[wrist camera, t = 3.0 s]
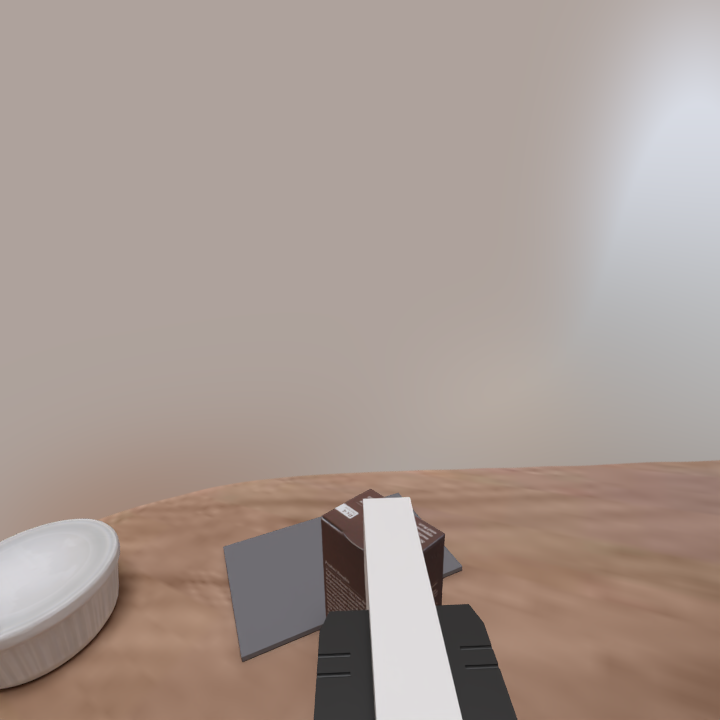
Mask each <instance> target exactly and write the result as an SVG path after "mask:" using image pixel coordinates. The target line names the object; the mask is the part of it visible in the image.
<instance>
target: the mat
mask: <svg viewBox="0 0 720 720" xmlns="http://www.w3.org/2000/svg"><path fill="white" fill-rule="evenodd" d="M385 498H401V495H400V494H399V493H396V494H393V495H390V496H387V497H385ZM413 513H414V515H415V516H416V517H418V518H420V517H419V516H418V515H417V514H416V513H415V512H414V510H413ZM420 519H421V518H420ZM223 548H224V554H225V560H226V566H227V572H228V578H229V584H230V590H231V597H232V603H233V609H234V615H235V621H236V627H237V633H238V639H239V645H240V652H241V658H242V662H243V661H246V660H248V659H250V658H253V657H255V656H257V655H260V654H262V653H265V652H267V651H269V650H272V649H274V648H277V647H279V646H281V645H284V644H286V643H289V642H291V641H293V640H296V639H298V638H301V637H303V636H305V635H308V634H310V633H313V632H315V631H317V630H320V629H321V627H322V625H323V623H324V621H325V619H326V610H325V591H324V569H323V551H322V529H321V517H318V518H315V519H312V520H309V521H306V522H302V523H299V524H296V525H293V526H289V527H286V528H283V529H280V530H276V531H273V532H270V533H267V534H263V535H260V536H257V537H254V538H250V539H247V540H244V541H241V542H237V543H234V544H231V545H228V546H225V547H223ZM461 570H462V565H461V564H460V563H459V562H458V561H457V560H456V559H455V557H454V556H453V555H452V554H451V553H450V552H449V551H448V549H447V548H446V547H445V546H444V562H443V578H444V577H447V576H449V575H451V574H454V573H456V572H458V571H461Z"/></svg>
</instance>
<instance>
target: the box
mask: <svg viewBox="0 0 720 720" xmlns="http://www.w3.org/2000/svg"><path fill="white" fill-rule="evenodd" d="M373 498H385V497H383V496H382V495H380V494H378V493H377V492H375V491H374V490H372V489H369V490H367V491H366V492H364V493H362V494H360V495H358V496H356V497H354V498H353V499H351V500H349V501H347V502H346V503H344V504H342V505H340V506H338V507H337V508H335V509H333V510H331V511H330V512H328V513H326V514H324V515H322V516H321V529H322V551H323V569H324V591H325V610H326V617H327V615H328V613H329V611H350V610H367V608H366V590H365V571H364V525H363V499H373ZM414 518H415V522H416V526H417V530H418V534H419V539H420V543H421V547H422V551H423V556H424V560H425V564H426V568H427V572H428V577H429V581H430V585H431V589H432V594H433V598H434V602H435V606H438V605H442V584H443V562H444V541H445V534H444V533H443V532H441V531H440V530H438V529H436V528H435V527H433V526H431V525H430V524H428V523H426V522H425V521H423V520H421V519H420V518H418V517H416V516H415V515H414Z"/></svg>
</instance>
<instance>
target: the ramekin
mask: <svg viewBox="0 0 720 720" xmlns="http://www.w3.org/2000/svg"><path fill="white" fill-rule="evenodd" d="M119 555H120V544H119V540H118V536H117V534H116V532H115V531H114V529H113V528H112V527H110V526H109V525H107V524H106V523H103V522H101V521H98V520H94V519H73V520H64V521H58V522H53V523H49V524H45V525H41V526H38V527H35V528H32V529H29V530H26V531H24V532H21V533H19V534H16V535H14V536H12V537H10V538H7V539H5V540H3V541H1V542H0V689H3V688H9V687H14V686H17V685H21V684H24V683H27V682H29V681H32V680H34V679H36V678H39V677H41V676H43V675H45V674H47V673H49V672H50V671H52V670H54V669H55V668H57V667H59V666H60V665H62V664H63V663H65V662H66V661H68V660H69V659H71V658H72V657H73V656H75V655H76V654H77V653H78V652H79V651H81V650H82V649H83V648H84V647H85V646H86V645H87V644H88V643H89V642H90V641H91V640H92V639H93V638H94V637H95V636H96V635H97V633H98V632H99V631H100V630H101V628H102V627H103V626H104V624H105V622H106V621H107V620H108V618H109V616H110V615H111V613H112V611H113V609H114V607H115V605H116V601H117V598H118V590H119V578H118V560H119Z"/></svg>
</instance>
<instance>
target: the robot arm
mask: <svg viewBox="0 0 720 720" xmlns="http://www.w3.org/2000/svg"><path fill="white" fill-rule="evenodd" d="M363 525H364V571H365V590H366V608H367V610H350V611H329V613H328V615H327V617H326V619H325V621H324V623H323V625H322V627H321V629H320V634H319V649H318V664H317V679H316V694H315V709H314V720H517V717H516V714H515V711H514V708H513V706H512V703H511V700H510V697H509V694H508V691H507V688H506V685H505V683H504V680H503V677H502V674H501V671H500V669H499V668H498V663H497V660H496V657H495V654H494V651H493V649H492V647H491V643H490V640H489V637H488V634H487V631H486V628H485V625H484V623H483V621H482V620H481V619H480V618H479V616H478V615H477V614H476V613H475V611H474V610H473V609H472V608H471V606H470V605H469V604H462V605H438V606H435V602H434V598H433V594H432V589H431V585H430V581H429V577H428V572H427V568H426V564H425V560H424V556H423V551H422V547H421V543H420V539H419V534H418V530H417V526H416V522H415V518H414V513H413V509H412V505H411V501H410V497H401V498H373V499H363Z"/></svg>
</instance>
